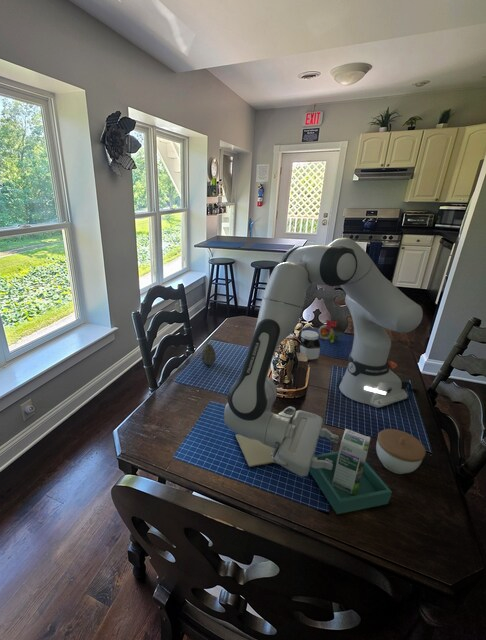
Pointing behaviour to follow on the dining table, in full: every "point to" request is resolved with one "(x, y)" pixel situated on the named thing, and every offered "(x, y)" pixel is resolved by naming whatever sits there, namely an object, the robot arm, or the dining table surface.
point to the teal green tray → (367, 495)
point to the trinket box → (399, 451)
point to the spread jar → (310, 344)
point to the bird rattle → (325, 331)
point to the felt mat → (255, 451)
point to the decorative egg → (208, 355)
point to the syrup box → (350, 461)
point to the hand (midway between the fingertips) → (335, 452)
